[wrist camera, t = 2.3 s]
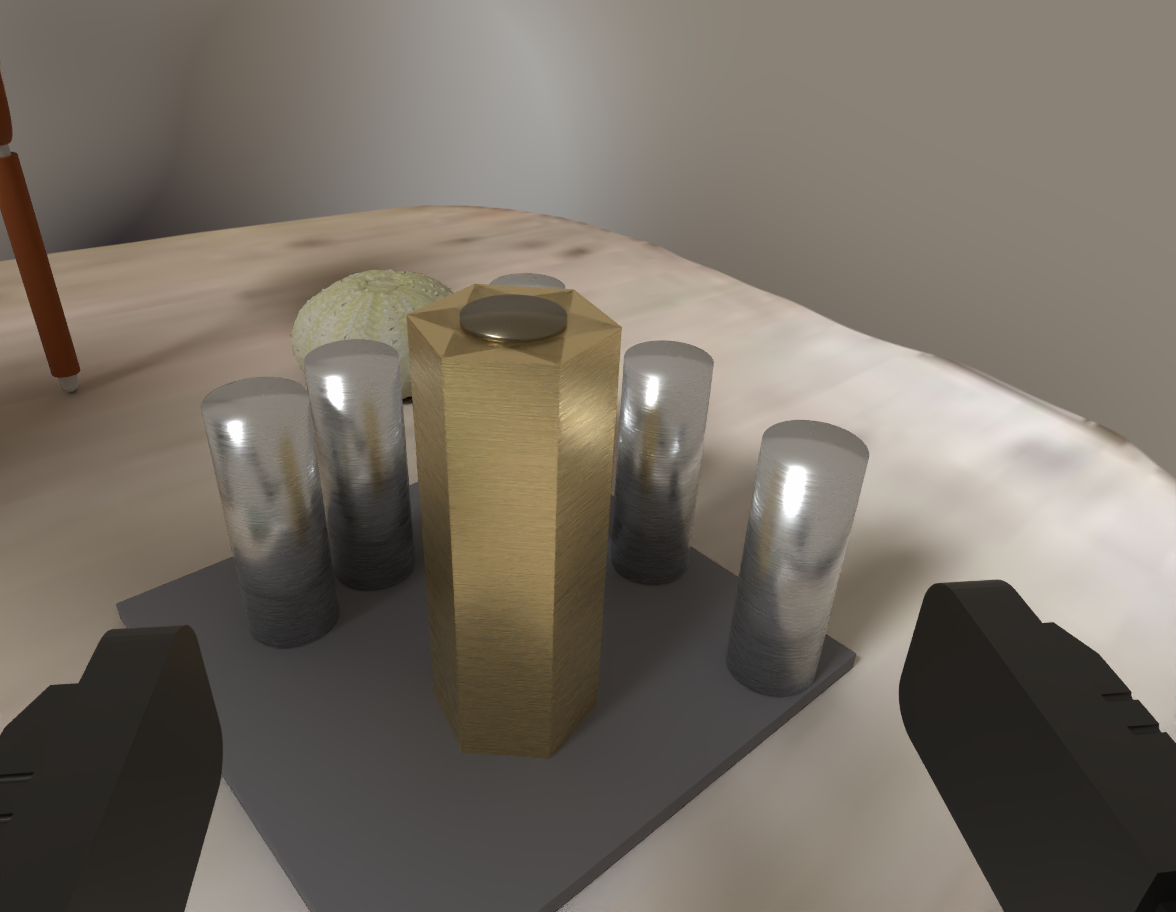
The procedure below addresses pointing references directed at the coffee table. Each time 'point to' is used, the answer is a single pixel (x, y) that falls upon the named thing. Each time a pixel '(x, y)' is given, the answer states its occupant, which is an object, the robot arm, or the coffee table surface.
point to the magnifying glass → (33, 258)
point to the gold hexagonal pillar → (514, 507)
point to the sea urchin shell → (366, 313)
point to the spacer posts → (641, 506)
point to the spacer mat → (433, 757)
